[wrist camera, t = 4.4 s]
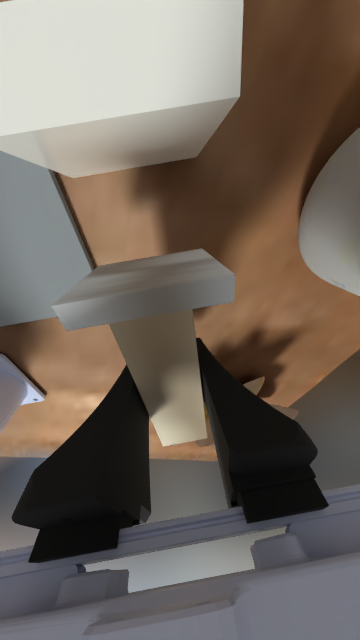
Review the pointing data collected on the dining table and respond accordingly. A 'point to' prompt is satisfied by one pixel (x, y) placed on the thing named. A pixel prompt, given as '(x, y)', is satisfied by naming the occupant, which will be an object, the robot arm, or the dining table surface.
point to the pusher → (155, 328)
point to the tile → (115, 80)
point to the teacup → (334, 219)
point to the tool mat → (35, 243)
